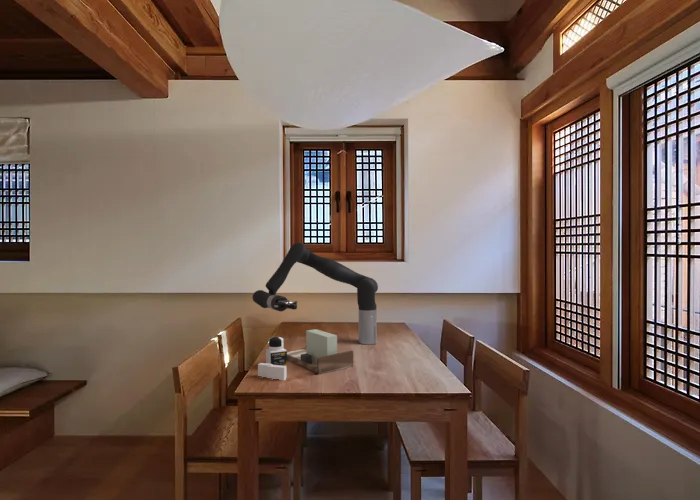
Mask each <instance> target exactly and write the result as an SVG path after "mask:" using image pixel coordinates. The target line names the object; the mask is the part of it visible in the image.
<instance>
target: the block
mask: <svg viewBox="0 0 700 500" xmlns="http://www.w3.org/2000/svg"><path fill="white" fill-rule="evenodd" d="M305 332H306V333H305V338H306V339H305V341H306V343H305V349H306V353H307V354H310V355H312V363H314V364H317V358H318V357H323V356H328V355H332V354H337V353H338V335H337V334H334V333H330V332H326V331H323V330H320V329H317V328H316V329H315V328H314V329H309V330H306V331H305Z"/></svg>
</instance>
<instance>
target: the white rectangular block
mask: <svg viewBox="0 0 700 500" xmlns="http://www.w3.org/2000/svg"><path fill="white" fill-rule="evenodd" d="M287 366H288V365H287ZM287 366H281V365H272V364H268V363H266V362H259V363H258V364H257V377H258V376H262V377H261V378H263V377H267V378H272V379H271V380H273V379H279V380H278V381H286V380H287V379H286V378H287V375H288V374H287V373H288V372H287V371H288V370H287Z"/></svg>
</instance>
